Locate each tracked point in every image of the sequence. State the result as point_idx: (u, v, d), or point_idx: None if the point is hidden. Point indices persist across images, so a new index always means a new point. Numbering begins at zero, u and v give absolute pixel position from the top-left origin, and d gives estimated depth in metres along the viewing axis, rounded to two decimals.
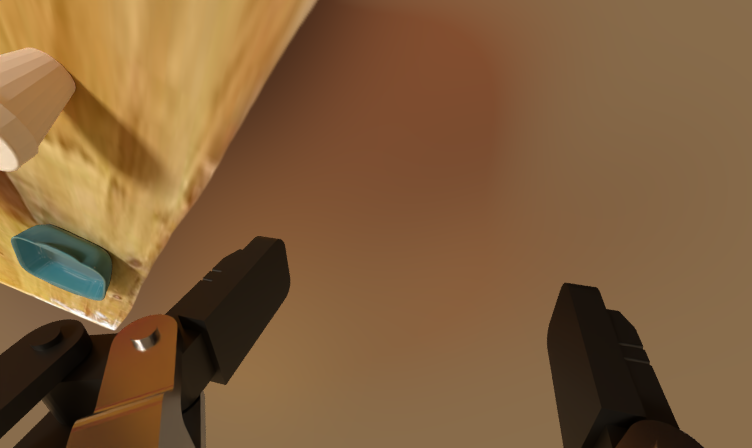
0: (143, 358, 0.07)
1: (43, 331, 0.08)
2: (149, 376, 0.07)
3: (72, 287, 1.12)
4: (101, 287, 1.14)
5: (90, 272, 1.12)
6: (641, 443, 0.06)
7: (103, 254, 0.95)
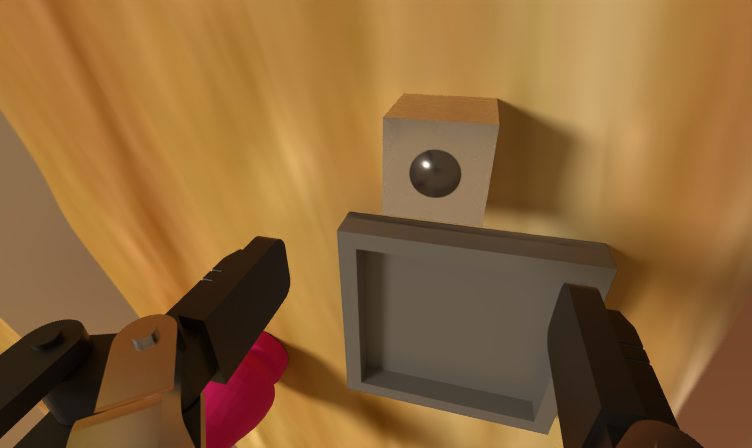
0: (143, 358, 0.07)
1: (42, 331, 0.08)
2: (149, 376, 0.07)
3: None
4: None
5: None
6: (641, 443, 0.06)
7: None
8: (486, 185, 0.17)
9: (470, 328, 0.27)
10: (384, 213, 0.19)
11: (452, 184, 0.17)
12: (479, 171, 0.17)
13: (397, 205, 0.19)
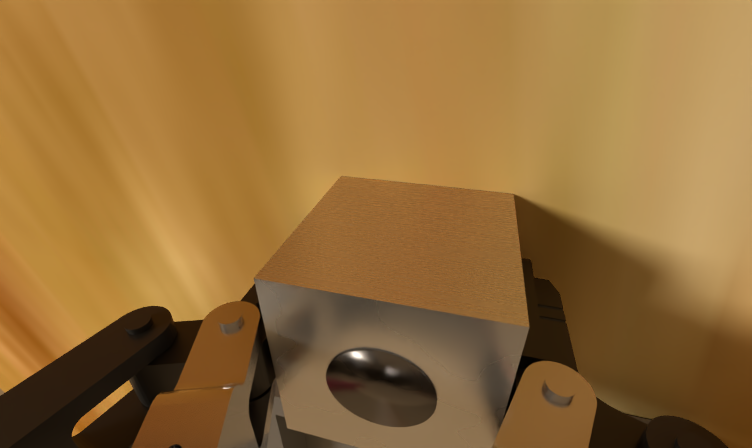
0: (224, 343, 0.07)
1: (137, 315, 0.08)
2: (245, 358, 0.07)
3: None
4: None
5: None
6: (534, 378, 0.07)
7: None
8: (494, 425, 0.07)
9: None
10: (290, 427, 0.10)
11: (418, 410, 0.08)
12: (479, 400, 0.07)
13: (312, 420, 0.09)
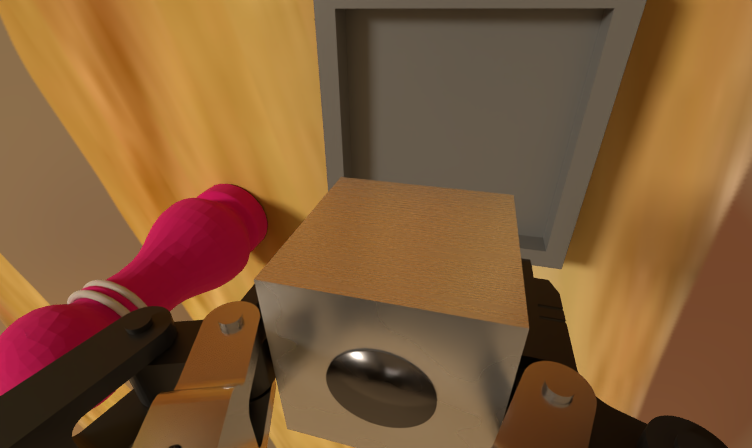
0: (224, 343, 0.07)
1: (138, 315, 0.08)
2: (245, 358, 0.07)
3: None
4: None
5: None
6: (534, 378, 0.07)
7: None
8: (494, 426, 0.07)
9: (471, 135, 0.23)
10: (290, 428, 0.10)
11: (418, 411, 0.08)
12: (479, 401, 0.07)
13: (312, 421, 0.09)
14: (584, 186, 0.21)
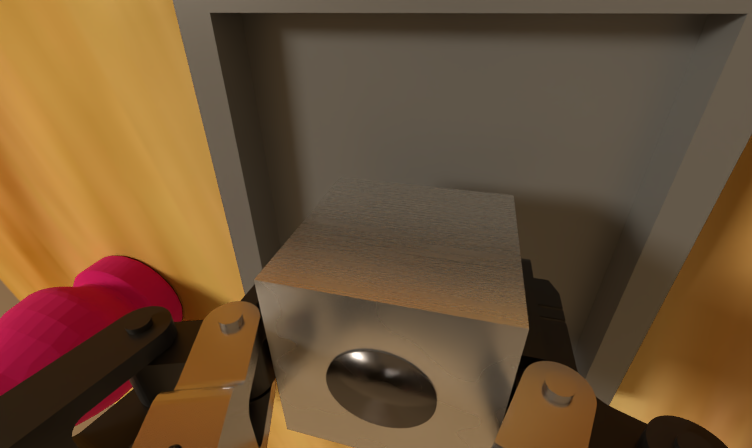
0: (224, 343, 0.07)
1: (137, 315, 0.08)
2: (245, 358, 0.07)
3: None
4: None
5: None
6: (534, 378, 0.07)
7: None
8: (494, 426, 0.07)
9: None
10: (290, 428, 0.10)
11: (418, 411, 0.08)
12: (478, 402, 0.07)
13: (312, 422, 0.09)
14: (649, 316, 0.12)
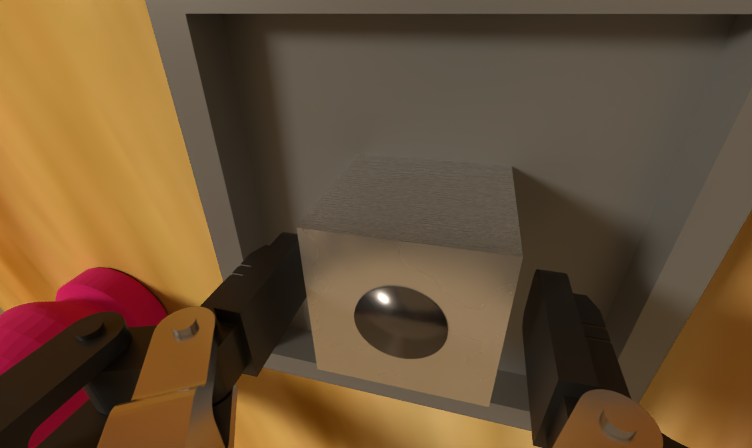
0: (180, 349, 0.07)
1: (87, 321, 0.08)
2: (193, 365, 0.07)
3: None
4: None
5: None
6: (591, 409, 0.06)
7: None
8: (496, 350, 0.09)
9: None
10: (320, 368, 0.11)
11: (432, 342, 0.09)
12: (483, 327, 0.09)
13: (340, 359, 0.11)
14: (666, 343, 0.11)
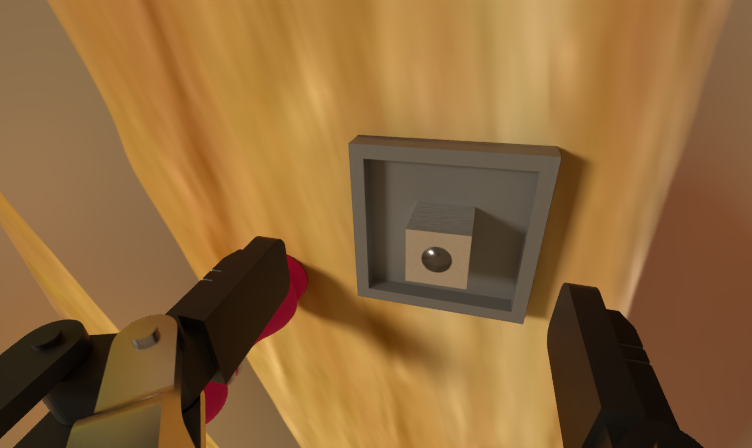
0: (142, 358, 0.07)
1: (43, 331, 0.08)
2: (149, 376, 0.07)
3: None
4: None
5: None
6: (641, 443, 0.06)
7: None
8: (466, 266, 0.29)
9: None
10: (406, 280, 0.31)
11: (447, 265, 0.29)
12: (462, 259, 0.29)
13: (414, 275, 0.31)
14: (533, 271, 0.31)
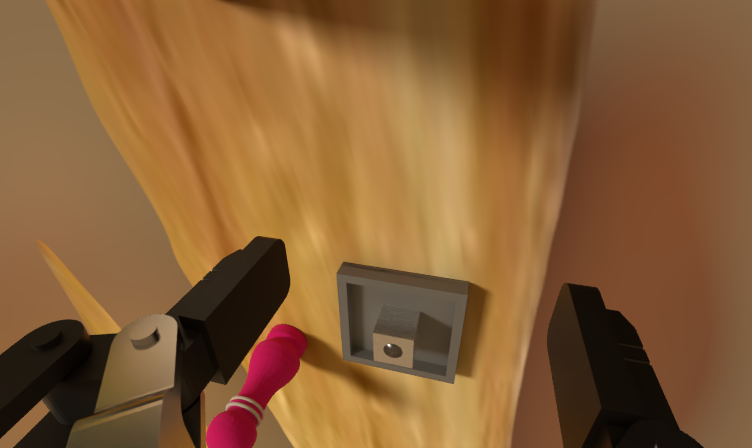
0: (143, 358, 0.07)
1: (43, 331, 0.08)
2: (149, 376, 0.07)
3: None
4: None
5: None
6: (641, 443, 0.06)
7: None
8: (411, 356, 0.45)
9: None
10: (374, 360, 0.48)
11: (399, 354, 0.46)
12: (408, 352, 0.45)
13: (379, 358, 0.47)
14: (457, 354, 0.48)
